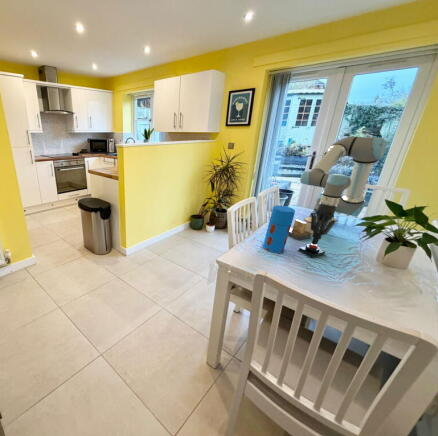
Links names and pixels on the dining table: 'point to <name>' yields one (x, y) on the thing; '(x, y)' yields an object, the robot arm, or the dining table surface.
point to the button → (313, 246)
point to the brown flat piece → (299, 234)
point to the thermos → (278, 228)
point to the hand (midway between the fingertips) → (314, 243)
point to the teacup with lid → (308, 225)
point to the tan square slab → (299, 226)
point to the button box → (311, 251)
